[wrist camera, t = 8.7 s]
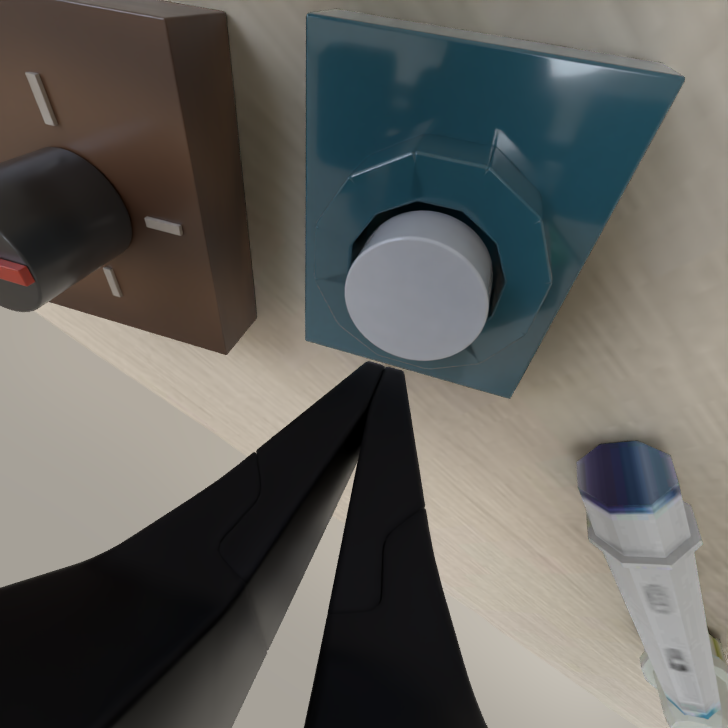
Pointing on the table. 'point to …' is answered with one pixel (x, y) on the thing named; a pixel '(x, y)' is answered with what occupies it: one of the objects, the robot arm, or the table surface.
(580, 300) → the table surface
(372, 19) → the teal button mount
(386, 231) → the flush button
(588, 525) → the white ridged-cap long part
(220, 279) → the dial panel
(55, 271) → the supply dial
